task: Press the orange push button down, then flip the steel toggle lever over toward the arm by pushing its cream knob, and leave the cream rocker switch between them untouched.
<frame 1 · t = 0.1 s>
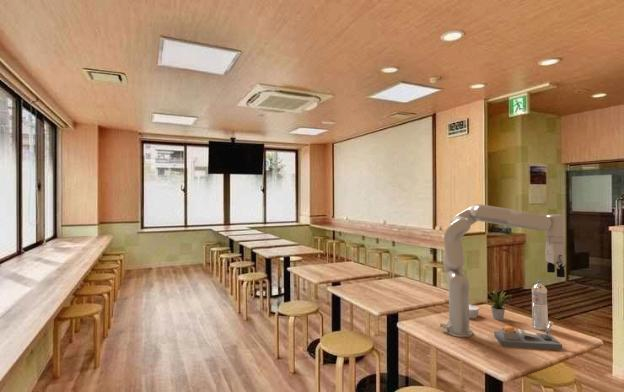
hand: (555, 274, 171), 31 cm above the table, tool pointing down, fingers open, 9 cm apart
toggle lever: (548, 328, 165), point 7 cm above the table, hinge at 20.0°
ramekin: (468, 316, 205), on the table
push button: (508, 330, 169), point 5 cm above the table, slide at 0.0 cm
house plant: (498, 319, 198), on the table
control panel: (526, 342, 167), on the table
water bottle: (540, 328, 184), on the table
rocker switch: (527, 333, 167), point 5 cm above the table, hinge at 10.0°
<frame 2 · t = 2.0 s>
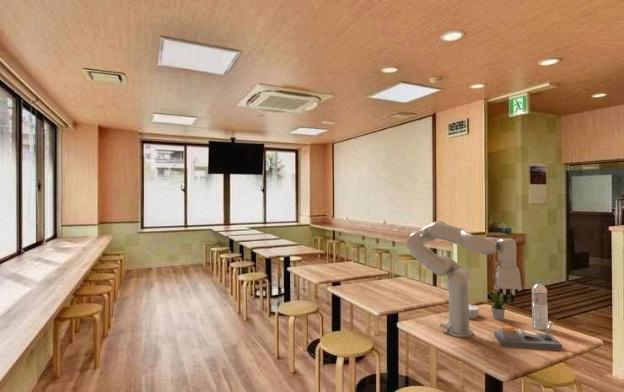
hand: (508, 302, 168), 19 cm above the table, tool pointing down, fingers closed
nothing on the table moved.
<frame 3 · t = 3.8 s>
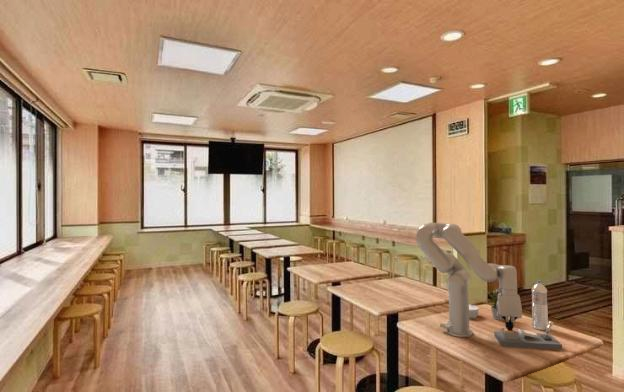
hand: (509, 329, 168), 6 cm above the table, tool pointing down, fingers closed
push button: (509, 332, 169), point 4 cm above the table, slide at 1.1 cm, touching gripper
everything else where it was.
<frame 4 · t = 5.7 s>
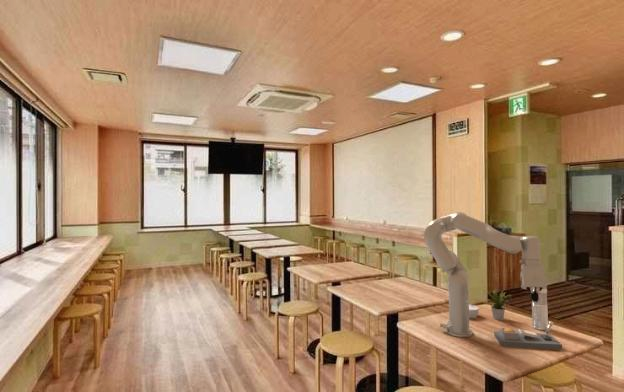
hand: (534, 300, 166), 20 cm above the table, tool pointing down, fingers closed
push button: (509, 333, 169), point 4 cm above the table, slide at 1.3 cm
everything else where it was.
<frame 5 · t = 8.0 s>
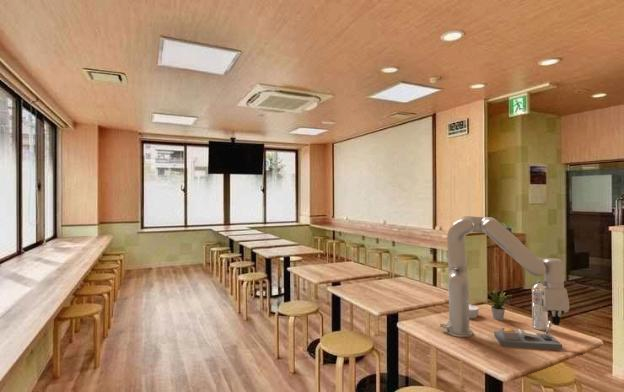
hand: (555, 324, 164), 10 cm above the table, tool pointing down, fingers closed
toggle lever: (548, 328, 165), point 7 cm above the table, hinge at 17.6°, touching gripper
everything else where it was.
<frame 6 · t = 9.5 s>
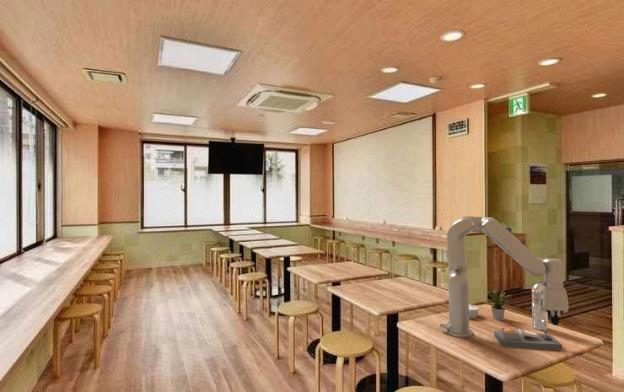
hand: (554, 324, 164), 10 cm above the table, tool pointing down, fingers closed
toggle lever: (545, 328, 165), point 7 cm above the table, hinge at -7.4°
everything else where it was.
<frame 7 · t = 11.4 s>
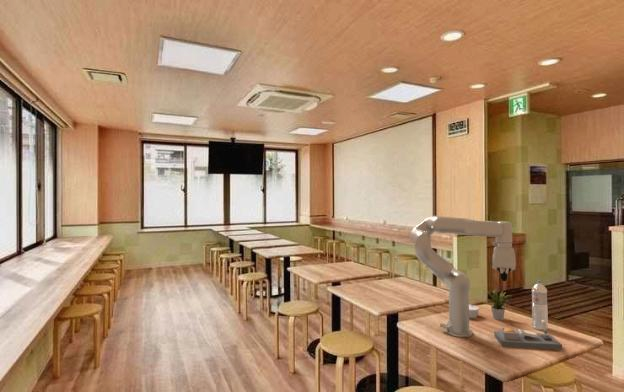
hand: (503, 280, 181), 26 cm above the table, tool pointing down, fingers closed
toggle lever: (544, 328, 165), point 7 cm above the table, hinge at -8.1°
everything else where it was.
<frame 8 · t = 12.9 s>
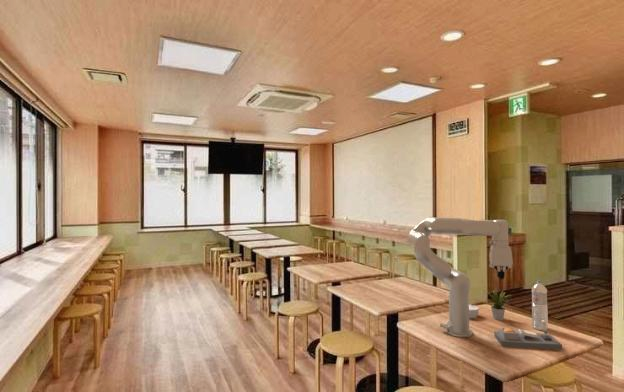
hand: (500, 278, 182), 27 cm above the table, tool pointing down, fingers closed
nothing on the table moved.
at the end: push button slide at 1.3 cm; toggle lever at -8° (first picture: +20°); rocker switch at +10° (first picture: +10°) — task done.
